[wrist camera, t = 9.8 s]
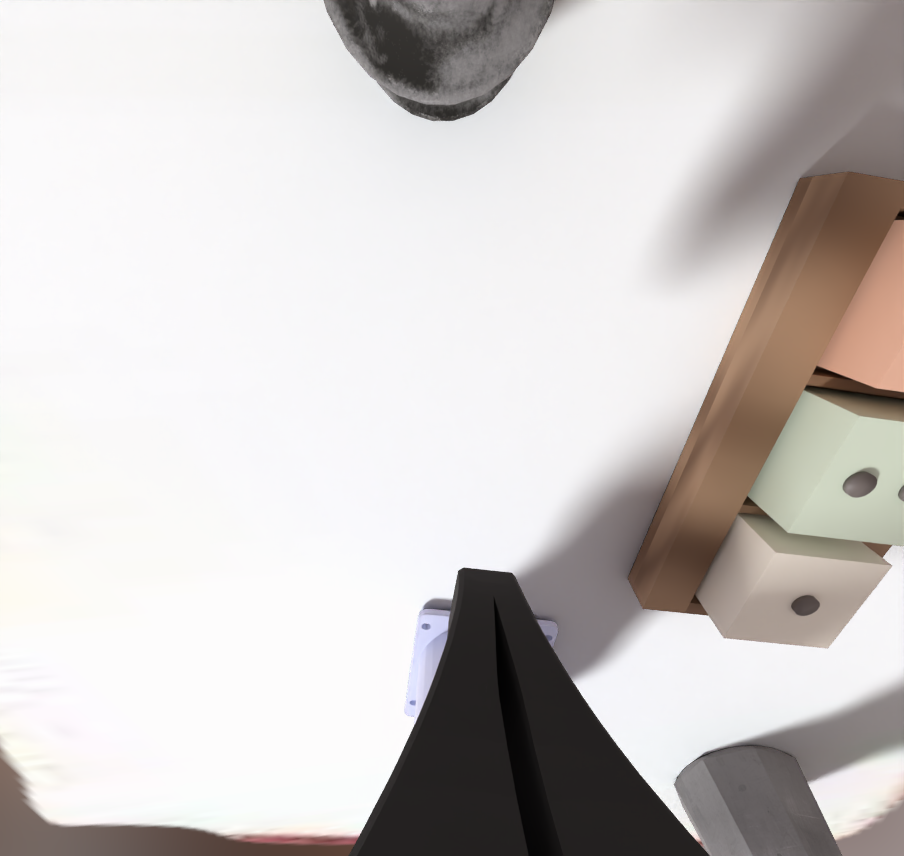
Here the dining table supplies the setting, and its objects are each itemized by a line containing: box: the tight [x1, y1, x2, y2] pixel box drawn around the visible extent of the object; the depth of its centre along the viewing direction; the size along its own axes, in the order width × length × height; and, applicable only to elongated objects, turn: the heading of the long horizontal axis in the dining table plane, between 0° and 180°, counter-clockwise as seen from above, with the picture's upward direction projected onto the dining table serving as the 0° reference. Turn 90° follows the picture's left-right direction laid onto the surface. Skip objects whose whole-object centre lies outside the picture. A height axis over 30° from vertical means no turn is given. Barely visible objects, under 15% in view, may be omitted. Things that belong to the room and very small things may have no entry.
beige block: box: [695, 512, 892, 648], centre depth 19 cm, size 5×5×3 cm
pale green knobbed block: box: [747, 386, 904, 546], centre depth 17 cm, size 5×5×3 cm
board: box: [628, 172, 904, 615], centre depth 18 cm, size 19×10×2 cm, turn 172°
